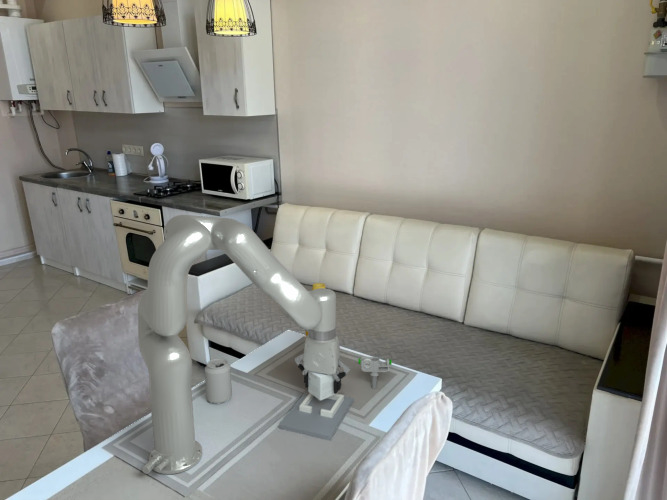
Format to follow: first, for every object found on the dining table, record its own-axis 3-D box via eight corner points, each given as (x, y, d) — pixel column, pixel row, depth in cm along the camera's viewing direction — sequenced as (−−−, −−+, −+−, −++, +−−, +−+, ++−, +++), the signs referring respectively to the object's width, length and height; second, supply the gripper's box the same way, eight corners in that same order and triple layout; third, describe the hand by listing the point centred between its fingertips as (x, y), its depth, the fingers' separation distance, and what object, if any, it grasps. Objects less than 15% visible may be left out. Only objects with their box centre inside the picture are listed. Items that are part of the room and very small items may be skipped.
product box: (307, 391, 142) (307, 369, 140) (324, 385, 146) (324, 363, 144) (320, 401, 137) (320, 377, 135) (337, 394, 141) (337, 371, 139)
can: (217, 408, 142) (215, 371, 139) (201, 399, 147) (199, 363, 144) (237, 397, 148) (235, 361, 145) (220, 389, 152) (219, 354, 150)
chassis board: (330, 440, 128) (330, 431, 128) (279, 428, 133) (279, 419, 133) (353, 401, 147) (354, 393, 146) (307, 392, 151) (307, 384, 151)
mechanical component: (390, 390, 153) (391, 361, 150) (357, 389, 153) (358, 360, 151) (389, 385, 156) (390, 356, 153) (357, 384, 156) (358, 356, 154)
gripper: (288, 333, 136) (289, 389, 140) (347, 342, 130) (346, 400, 135) (299, 323, 143) (300, 376, 147) (356, 331, 137) (355, 387, 142)
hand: (322, 388), depth 141 cm, fingers closed on product box, 8 cm apart
